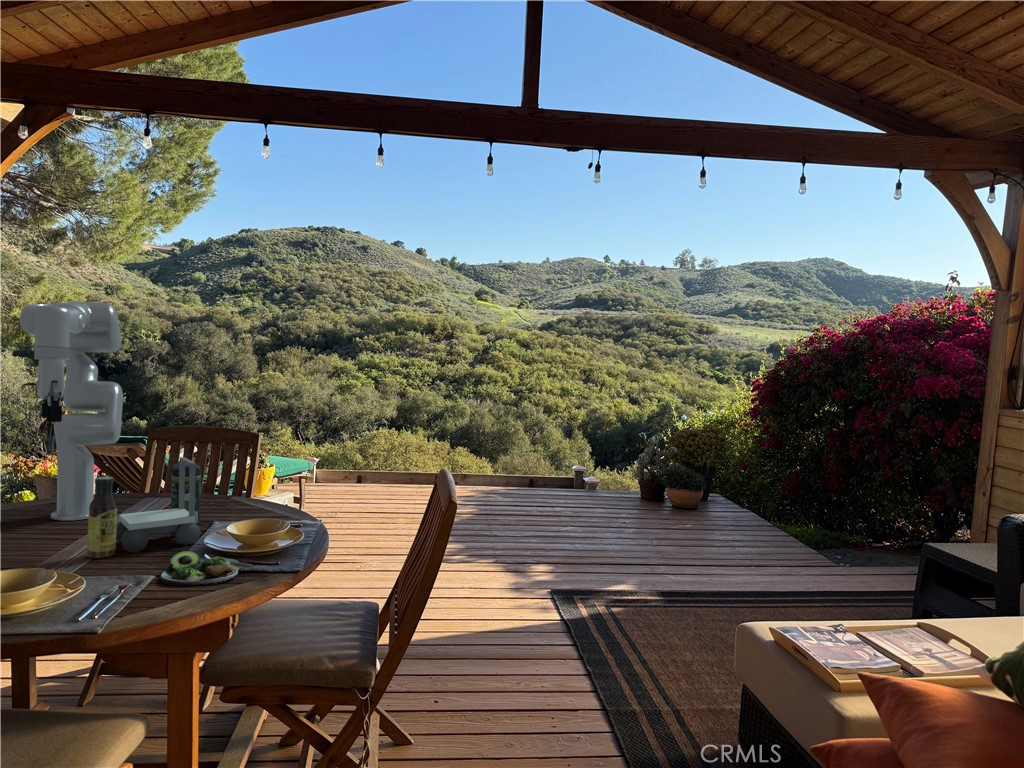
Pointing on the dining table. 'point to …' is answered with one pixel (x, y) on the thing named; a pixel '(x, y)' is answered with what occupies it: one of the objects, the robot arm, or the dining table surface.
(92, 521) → the sauce bottle
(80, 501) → the robot arm
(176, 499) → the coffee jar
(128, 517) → the trolley
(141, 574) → the dining table surface
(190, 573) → the salad plate
